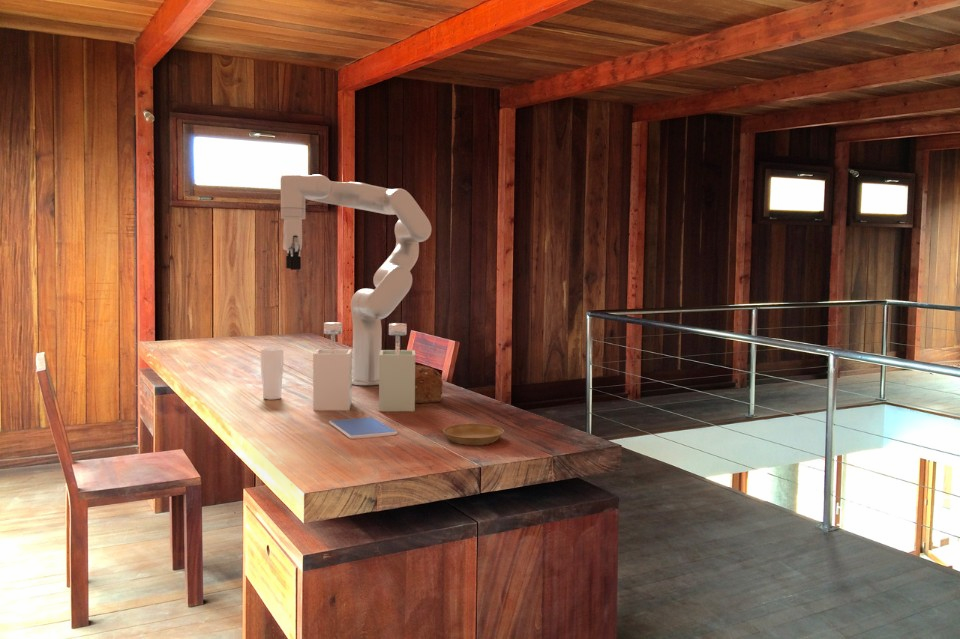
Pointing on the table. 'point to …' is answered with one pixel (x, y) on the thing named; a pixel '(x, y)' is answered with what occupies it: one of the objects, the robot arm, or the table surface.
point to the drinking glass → (272, 372)
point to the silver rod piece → (397, 334)
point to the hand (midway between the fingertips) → (293, 269)
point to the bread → (427, 385)
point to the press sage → (397, 380)
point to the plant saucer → (473, 433)
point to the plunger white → (332, 332)
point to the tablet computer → (362, 428)
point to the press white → (332, 379)
